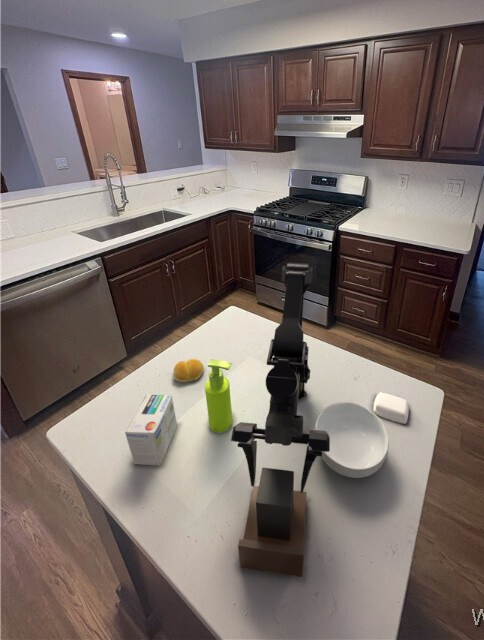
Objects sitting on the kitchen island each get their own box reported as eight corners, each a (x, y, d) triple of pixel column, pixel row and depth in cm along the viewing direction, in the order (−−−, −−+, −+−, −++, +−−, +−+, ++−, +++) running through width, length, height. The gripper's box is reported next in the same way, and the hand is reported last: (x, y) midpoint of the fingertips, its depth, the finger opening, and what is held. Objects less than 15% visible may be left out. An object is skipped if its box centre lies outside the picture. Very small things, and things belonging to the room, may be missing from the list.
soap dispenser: (231, 435, 78) (225, 373, 71) (205, 430, 80) (197, 369, 72) (239, 415, 84) (235, 356, 76) (215, 411, 85) (208, 352, 77)
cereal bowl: (302, 433, 79) (303, 413, 76) (358, 413, 85) (360, 393, 82) (336, 503, 65) (338, 481, 62) (400, 472, 70) (405, 451, 68)
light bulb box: (152, 424, 81) (146, 393, 77) (178, 425, 81) (172, 394, 77) (132, 465, 71) (123, 432, 67) (161, 466, 71) (154, 433, 67)
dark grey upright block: (263, 500, 62) (262, 467, 58) (293, 503, 62) (294, 470, 58) (257, 536, 57) (255, 502, 53) (290, 540, 56) (290, 507, 52)
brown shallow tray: (254, 494, 66) (253, 472, 63) (306, 500, 65) (307, 479, 62) (240, 568, 55) (238, 545, 52) (302, 577, 54) (303, 555, 51)
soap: (372, 413, 85) (373, 405, 84) (376, 395, 90) (377, 387, 89) (407, 425, 81) (408, 417, 80) (408, 405, 87) (410, 398, 86)
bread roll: (205, 378, 95) (204, 368, 94) (174, 386, 93) (173, 376, 91) (202, 361, 103) (200, 351, 101) (173, 367, 100) (172, 358, 98)
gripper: (230, 394, 57) (216, 497, 51) (332, 403, 56) (329, 511, 50) (242, 392, 68) (232, 478, 62) (329, 401, 66) (326, 490, 60)
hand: (277, 489), depth 58 cm, fingers open, 9 cm apart
